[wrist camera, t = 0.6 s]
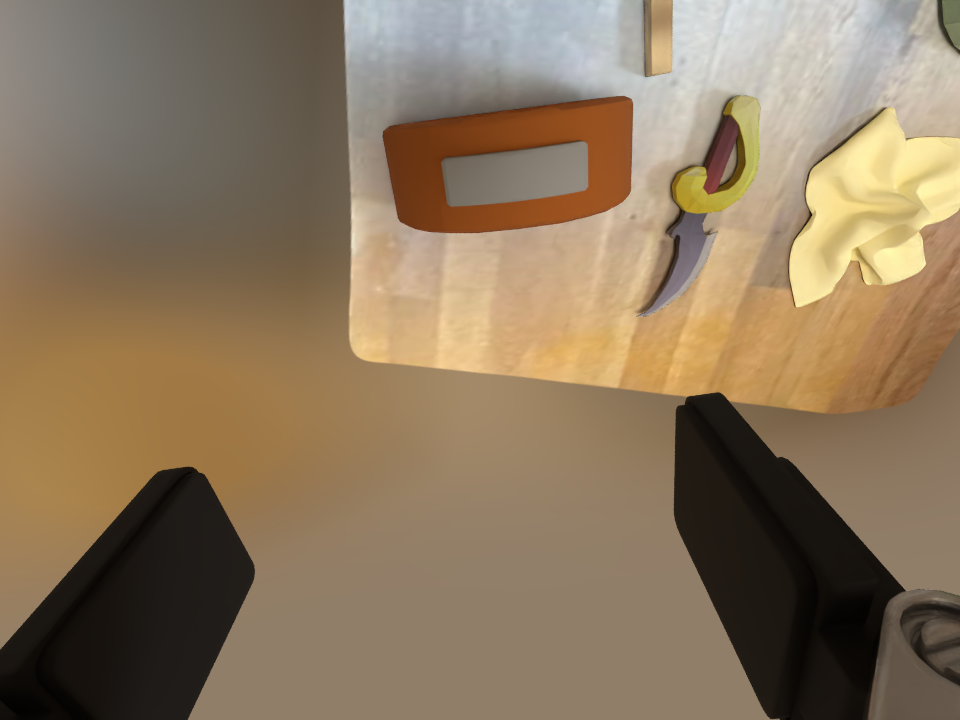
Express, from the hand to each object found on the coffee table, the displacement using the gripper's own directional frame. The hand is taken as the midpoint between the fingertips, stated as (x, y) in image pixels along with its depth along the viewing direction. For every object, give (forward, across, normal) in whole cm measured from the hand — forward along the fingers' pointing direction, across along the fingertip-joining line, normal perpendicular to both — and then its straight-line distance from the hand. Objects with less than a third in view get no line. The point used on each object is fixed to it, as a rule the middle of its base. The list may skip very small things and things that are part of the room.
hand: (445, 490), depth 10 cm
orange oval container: (+50, -4, -1) cm, 50 cm away
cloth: (+50, -44, +12) cm, 68 cm away
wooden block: (+50, -20, -12) cm, 55 cm away
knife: (+50, -24, +8) cm, 56 cm away
